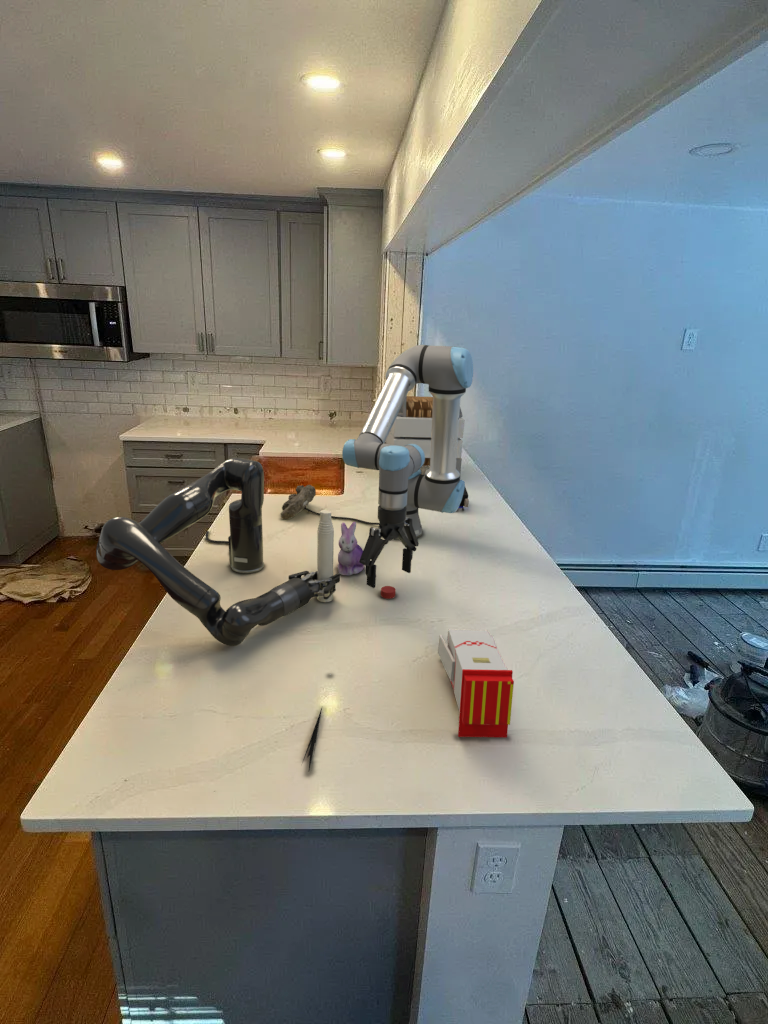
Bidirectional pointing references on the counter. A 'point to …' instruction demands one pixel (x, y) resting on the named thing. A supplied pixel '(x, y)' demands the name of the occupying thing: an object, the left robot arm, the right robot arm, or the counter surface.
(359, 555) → the figurine
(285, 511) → the fossil
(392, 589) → the cap
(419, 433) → the white slatted crate
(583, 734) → the counter surface
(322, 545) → the bottle
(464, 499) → the figurine character
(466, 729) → the toy
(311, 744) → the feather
